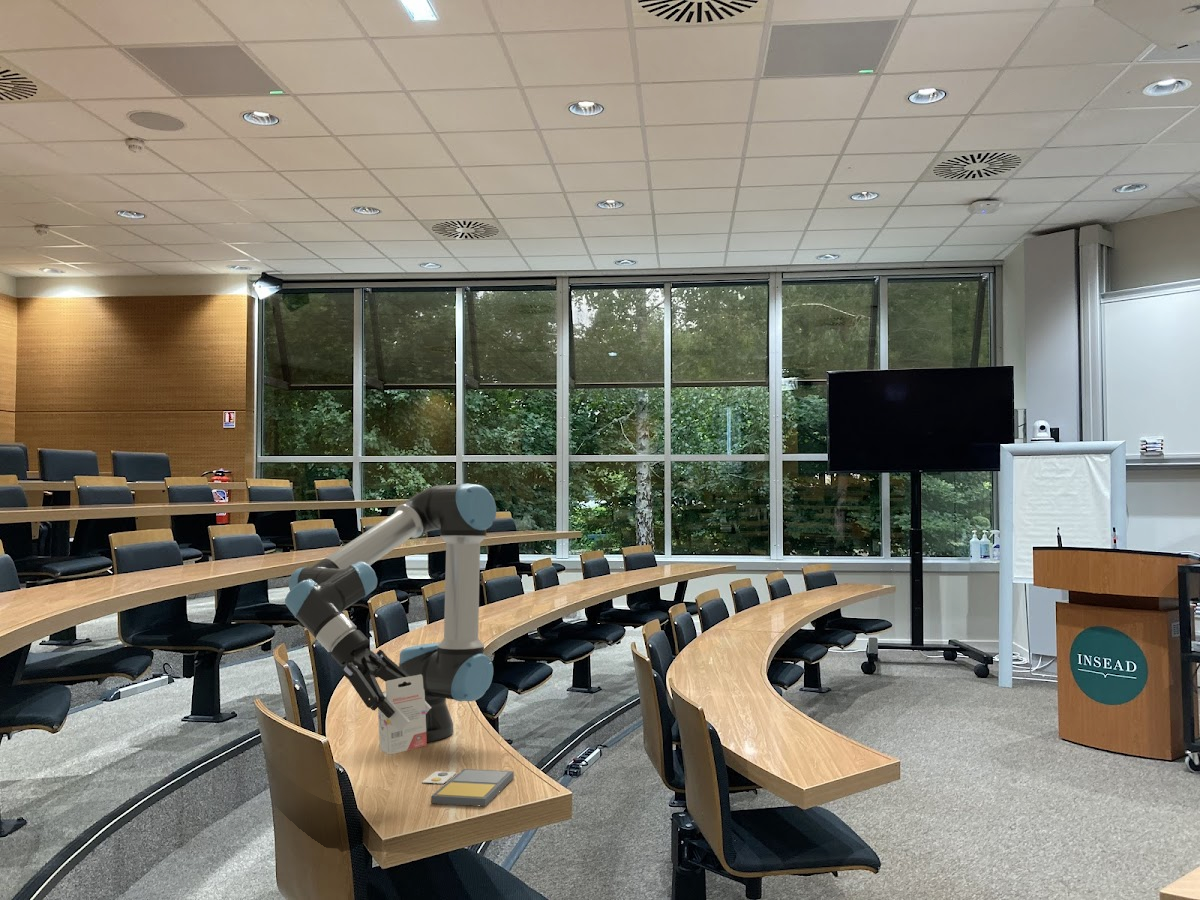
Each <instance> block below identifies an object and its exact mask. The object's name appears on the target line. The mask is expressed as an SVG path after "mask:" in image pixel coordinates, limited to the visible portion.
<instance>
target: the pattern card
mask: <svg viewBox="0 0 1200 900" xmlns="http://www.w3.org/2000/svg"><path fill="white" fill-rule="evenodd" d="M456 773H457V772H455V771H438V770H437V771H436V770H435V771H434V772H433V773H432V774H430V775H429V776H428V777H427V778H425V779H424V780H422V782H421V783H422V784H424V783H437V784H436V785H443V784H444V783H445V782H446V783H447V782H449V781H450V780H451V779H452V778H453V777H455V776H456V775H457V774H458V773H457V774H456ZM455 774H456V775H455ZM452 776H453V777H452ZM451 777H452V778H451ZM450 778H451V779H450ZM449 779H450V780H449ZM446 783H445V784H446ZM445 784H444V785H445Z"/></svg>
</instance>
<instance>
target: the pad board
mask: <svg viewBox="0 0 1200 900" xmlns="http://www.w3.org/2000/svg"><path fill="white" fill-rule="evenodd" d="M514 775H515V773H514V771H513V770H494V769H473V768H472V769H471V768H469V769H468V768H463V769H462V770H460V771H459V772H458V773H457V774H456V775H454V776H453V777H452V778H451V779H450V780H448V781H447V782H446V783H445V784H444V785H442V786H441V787H440V788H439V789H438V790H436V791H435V792H434V793H433V794H432V795H431V796H430V801H431V802H430V803H435V804H434V805H446V804H456V805H455V806H463V805H480V806H479V807H481V806H486V805H487V804H488V803H489V802H490V801H491V800H492V799H493V798H494V797H495V796H496V795H497V794H498V793H499V791H501V790H502V789H503V788H504V787H505V785H507V784H508V783H509V782H510V781H511V780H512V779H513V778H514V777H515V776H514ZM514 779H515V778H514ZM514 779H513V780H514ZM513 780H512V781H513ZM512 781H511V782H512ZM511 782H510V783H511ZM508 785H509V784H508ZM508 785H507V786H508ZM505 788H506V787H505ZM505 788H504V789H505ZM504 789H503V790H504ZM503 790H502V791H503ZM502 791H501V792H502ZM499 794H500V793H499ZM499 794H498V795H499ZM498 795H497V796H498ZM497 796H496V797H497ZM496 797H495V798H496ZM495 798H494V799H495ZM494 799H493V800H494ZM493 800H492V801H493ZM492 801H491V802H492ZM491 802H490V803H491ZM436 803H437V804H436ZM490 803H489V804H490ZM489 804H488V805H489ZM488 805H487V806H488ZM487 806H486V807H487Z"/></svg>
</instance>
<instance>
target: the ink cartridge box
mask: <svg viewBox="0 0 1200 900" xmlns="http://www.w3.org/2000/svg"><path fill="white" fill-rule="evenodd" d="M403 682H406V683H408V682H410V683H411V685H409V686H404V687H398V685H399V684H402V683H403ZM382 693H383V695H384V697H385V700H386V699H387V698H389V699H390V700H391V701H392V702H393V703H394V704H395V705H396V706H397V707H398V708H399V709H400V711H401V712H402V713H403V714H404V715H405V716H406V717H407V718H408V719H409V720H410V722H409V723H408V724H407V725H406V726H405V728H404V729H403V730H402V731H399V730H398V729H397V728H396V727H395V726H394V724H393V723H392V722H391V721H390V720H389V719H388V718H387V717H386V716H385V715H384V714H383V713H382V711H381V710H380V709H379V708H377V712H378V713H377V714H378V719H377V720H378V736H379V737H378V738H379V739H378V740H379V750H380V751H381V752H383V753H385V754H387V755H394V754H398V753H401V752H406V751H411V750H414V749H419V748H421V747H426V746H427V745H428V743H427V736H426V713H425V691H424V689H423V676H422V675H421V674H420V675H416V676H409V677H404V678H398V679H394V680H388V681H386V682H385V691H382Z"/></svg>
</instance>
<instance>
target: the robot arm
mask: <svg viewBox="0 0 1200 900" xmlns="http://www.w3.org/2000/svg"><path fill="white" fill-rule="evenodd" d="M496 517H497V505H496V501H495V498H494V496H493V495H492V493H490V490H488V488H486V487H485V486H484V485H481V484H475V483H474V484H473V483H458V484H447V485H446V484H445V485H444V484H443V485H442V484H441V485H440V484H439V485H434V486H431V487H428V488H426V489H424V490H422V491H420V492H418V493H417V494H415V495H413V496H412V497H410V498H408V499H406V500H405V501H404V502H402V503H400V504H399V505H397V506H396V507H395V509H394V512H393V514H390V515H389V516H388V517H386V518H384V519H383V520H381V521H379V522H378V523H377V524H375V525H374V526H372V527H371V528H369V529H368V530H366V531H365V532H363V533H362V534H360V535H359V536H356V538H354V539H352V540H351V541H349V542H347V543H346V544H345V545H343V546H342V547H340V548H338V549H337V550H335V551H334V552H332V553H331V554H330V555H328V556H327V557H325V558H324V559H321V560H320V561H318V562H317V563H315V564H313V565H311V566H303V567H299V568H297V569H296V570H294V571H293V572H292V574H291V575H290V577H289V579H288V587H289V589H288V590H289V591H288V593H287V594H286V597H285V600H284V603H285V606H286V607H287V608H288V610H289V611H290V613H291V614H292V616H294V618H295V619H297V620H298V621H299V622H300V623H301V624H302V625H303V627H304V628H306V630H307V631H308V632H309V633H310V634H311V635H312V636H313V637H314V638H315V639H316V640H317V641H318V643H319V644H320V645H321V647H323V648H324V649H325V650H326V651H327V653H331V655H330V656H331V657H332V658H333V659H334V660H335V661H336V662H337V664H338V665H339V666H340V667H344V668H343V669H342V670H341V674H342V675H343V676H344V677H345V678H346V679H348V681H349V683H350V684H351V685H352V687H353V688H354V690H355V691H356V693H357V694H358V695H359V698H361V700H362V701H363V703H364V705H365V706H366V707H367V709H371V711H376V710H378V708H379V709H380V710H381V711H382V713H383V714H384V715H385V716H386V717H387V718H388V719H389V720H390V721H391V722H392V723H393V724H394V726H395V727H396V728H397V729H398V730H399V731H402V730H403V729H404V728H405V726H406V725H407V724H408V723H409V722H410V720H409V719H408V718H407V717H406V716H405V715H404V714H403V713H402V712H401V711H400V709H399V708H398V707H397V706H396V705H395V704H394V703H393V702H392V701H391V700H390V699H389V698H387V699H386V700H385V697H384V695H383V693H382V692H383V691H382V689H381V686H380V685H379V682H378V680H377V678H379V679H381V680H382V681H383V682H385V683H386V681H388V680H394V679H398V678H404V677H409V676H416V675H420V674H421V675H422V676H423V689H424V691H425V713H426V736H427V742H434V741H439V740H442V739H446V738H449V737H450V736H451V735H453V734H454V722H453V719H452V717H451V713H450V711H449V707H448V705H447V699H448V700H452V701H456V702H474V701H475V702H476V701H477V700H479V699H480V698H482V697H483V696H484V695H485V694H486V691H487V690H489V688H490V686H491V684H492V681H493V676H494V665H493V662H492V661H491V659H490V657H489V656H487V655H486V654H485V644H484V643H483V642H482V641H481V639H480V638H479V623H480V622H479V620H480V618H479V616H480V615H479V613H480V612H479V611H480V565H481V563H480V562H481V561H480V560H481V543H482V542H483V541H484V540H485V539H486V538H487V529H489V528H491V527H492V526H493V524H494V523H493V522H495V520H496ZM437 530H439V532H440V536H439V537H440V538H441V539H442V540H443V541H444V542H445V544H446V545H445V574H444V575H445V576H444V577H445V579H444V580H445V581H444V582H445V583H444V584H445V585H444V614H443V615H444V620H443V621H444V623H443V624H444V625H443V639H442V641H440V642H431V643H425V644H424V643H423V644H419V645H413V646H408V647H406V648H405V647H404V648H403V649H401V651H400V653H399V663H398V665H397V664H396V662H394V661H393V660H392V659H391V658H389V657H388V656H387V654H386V653H385V652H384V650H382V649H378V651H377V652H374V651H372V650H370V649H369V645H370V640H369V639H368V637H366V635H365V634H364V633H363V632H362V630H360V629H357V625H355V623H354V622H353V620H351V619H350V618H349V617H348V616H347V615H346V614H345V612H344V610H346V609H348V608H349V607H350V606H352V605H354V604H356V603H357V602H359V601H360V600H362V599H364V598H366V597H367V596H368V595H369V594H371V593H372V592H374V590H375V589H377V585H378V577H377V575H376V572H375V570H374V569H373V568H372V567H371V566H372V565H373V564H374V563H375V562H377V561H379V560H381V558H383V557H384V556H386V555H388V553H390V552H392V551H393V550H395V549H396V548H398V547H399V546H401V545H402V544H403V543H405V542H406V541H407V540H409V539H410V538H411V539H417V538H419V537H421V536H422V535H424V534H425V533H428V532H431V531H437ZM409 685H411V683H410V682H408V683H406V682H403V683H402V684H399V685H398V687H404V686H409Z"/></svg>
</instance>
